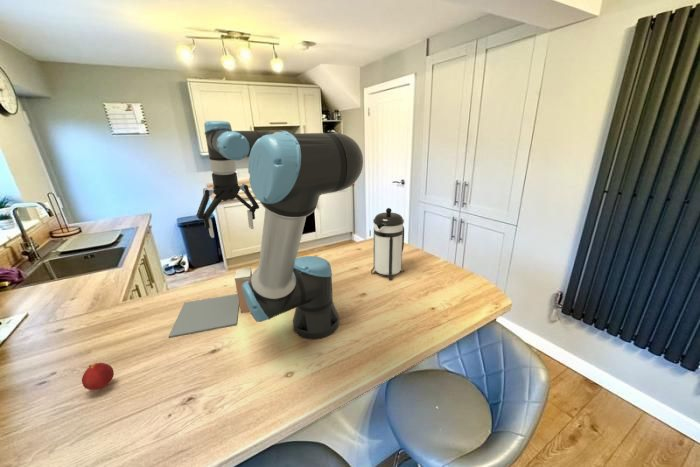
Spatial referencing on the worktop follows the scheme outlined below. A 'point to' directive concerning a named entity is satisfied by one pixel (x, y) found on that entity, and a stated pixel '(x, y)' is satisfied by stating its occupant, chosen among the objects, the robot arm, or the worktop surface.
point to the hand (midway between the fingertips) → (232, 232)
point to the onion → (97, 376)
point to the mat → (206, 315)
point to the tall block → (241, 278)
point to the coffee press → (388, 243)
